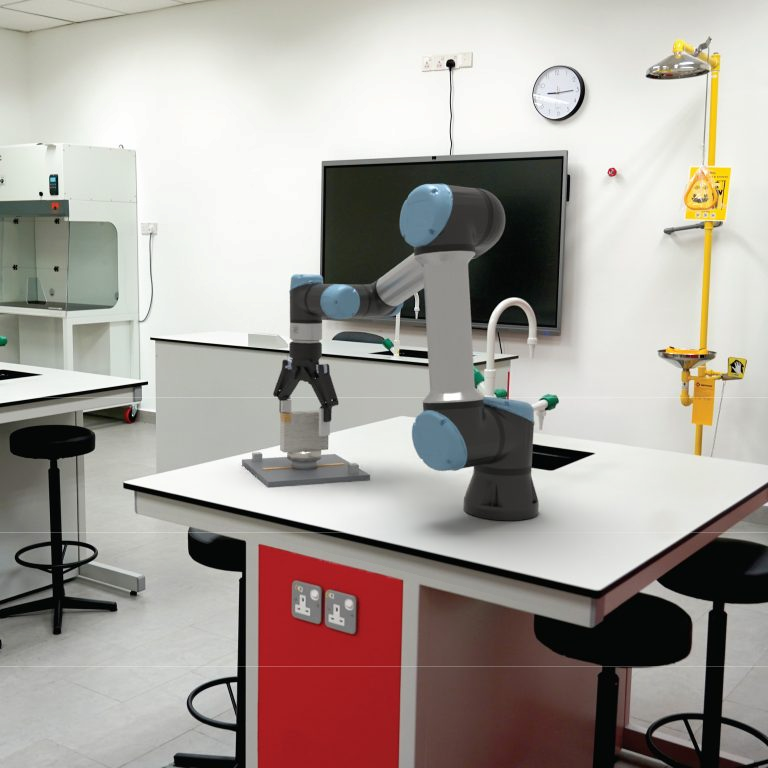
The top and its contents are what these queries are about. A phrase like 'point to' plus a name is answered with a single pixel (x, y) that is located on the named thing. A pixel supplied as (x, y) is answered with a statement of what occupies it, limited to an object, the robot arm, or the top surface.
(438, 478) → the top surface
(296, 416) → the grey block knob
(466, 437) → the robot arm
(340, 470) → the post plate
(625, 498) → the top surface
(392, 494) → the top surface
